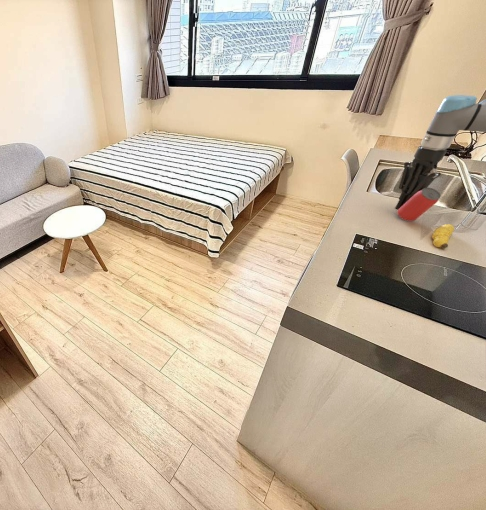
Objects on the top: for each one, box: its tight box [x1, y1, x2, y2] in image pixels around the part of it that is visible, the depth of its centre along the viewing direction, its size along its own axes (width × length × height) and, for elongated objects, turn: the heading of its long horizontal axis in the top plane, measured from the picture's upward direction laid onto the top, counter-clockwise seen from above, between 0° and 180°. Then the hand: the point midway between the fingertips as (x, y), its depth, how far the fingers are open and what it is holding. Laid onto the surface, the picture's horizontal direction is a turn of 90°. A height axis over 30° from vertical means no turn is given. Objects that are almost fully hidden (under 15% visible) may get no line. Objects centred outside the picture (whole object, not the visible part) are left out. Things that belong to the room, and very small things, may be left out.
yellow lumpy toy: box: [431, 223, 455, 249], centre depth 94 cm, size 15×5×4 cm, turn 131°
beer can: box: [396, 187, 441, 222], centre depth 101 cm, size 7×7×12 cm
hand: (399, 208), depth 109 cm, fingers closed
